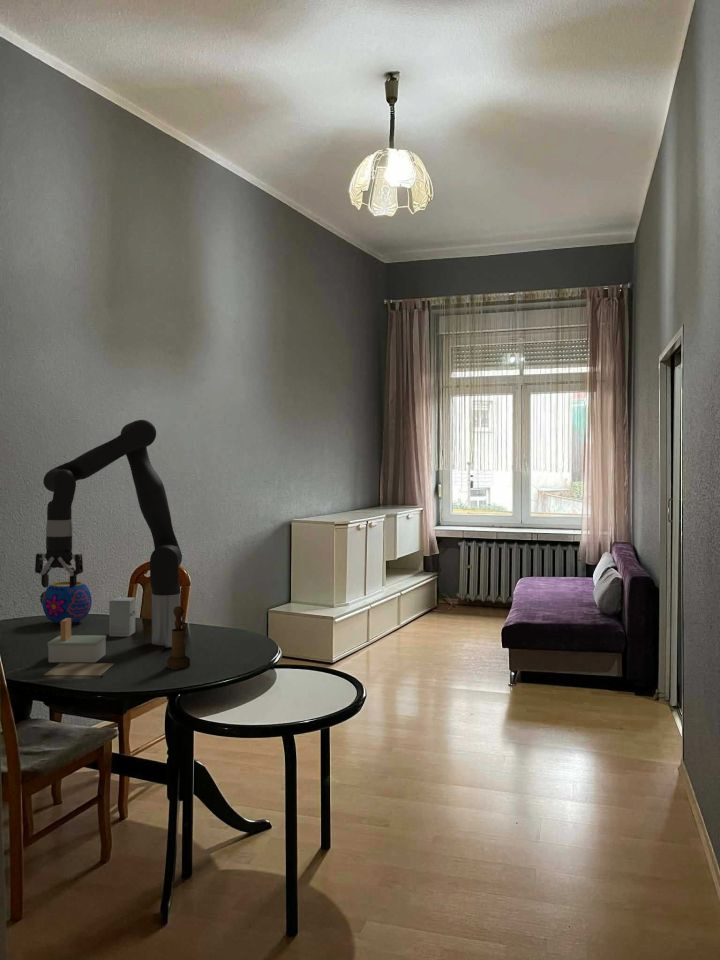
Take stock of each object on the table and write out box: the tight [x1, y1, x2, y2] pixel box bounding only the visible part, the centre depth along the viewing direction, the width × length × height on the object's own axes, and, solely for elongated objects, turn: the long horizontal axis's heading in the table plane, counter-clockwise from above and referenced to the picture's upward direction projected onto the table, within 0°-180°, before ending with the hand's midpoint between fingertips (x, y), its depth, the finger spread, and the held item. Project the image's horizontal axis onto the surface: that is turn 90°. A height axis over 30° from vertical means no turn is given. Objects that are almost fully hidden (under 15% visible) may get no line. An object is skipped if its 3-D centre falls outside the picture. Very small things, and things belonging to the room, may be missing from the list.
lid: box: [47, 618, 107, 647], centre depth 248 cm, size 14×10×7 cm
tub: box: [47, 638, 107, 663], centre depth 248 cm, size 14×10×6 cm
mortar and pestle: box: [166, 605, 191, 670], centre depth 242 cm, size 7×6×18 cm
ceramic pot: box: [39, 580, 93, 625], centre depth 305 cm, size 18×18×15 cm
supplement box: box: [108, 596, 136, 638], centre depth 286 cm, size 7×7×13 cm
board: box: [43, 662, 114, 680], centre depth 235 cm, size 16×13×1 cm
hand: (58, 587), depth 249 cm, fingers open, 8 cm apart
